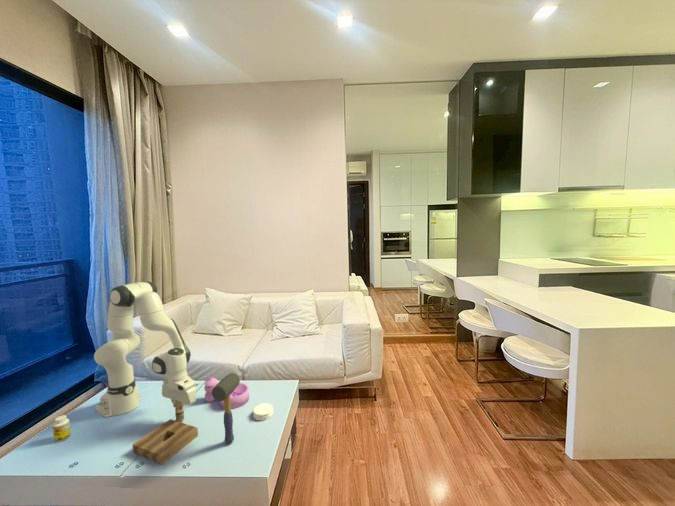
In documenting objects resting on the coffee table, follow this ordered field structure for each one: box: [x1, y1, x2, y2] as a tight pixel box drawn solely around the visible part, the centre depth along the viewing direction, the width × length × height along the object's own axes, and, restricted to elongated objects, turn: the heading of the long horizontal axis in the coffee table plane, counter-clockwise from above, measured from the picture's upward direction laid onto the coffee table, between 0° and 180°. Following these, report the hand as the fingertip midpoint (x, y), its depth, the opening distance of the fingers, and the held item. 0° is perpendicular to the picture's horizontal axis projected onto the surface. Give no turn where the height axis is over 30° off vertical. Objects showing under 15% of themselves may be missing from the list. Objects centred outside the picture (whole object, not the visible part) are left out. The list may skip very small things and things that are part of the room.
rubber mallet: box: [212, 372, 241, 445], centre depth 131 cm, size 12×8×30 cm, turn 170°
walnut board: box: [132, 418, 199, 465], centre depth 132 cm, size 18×18×4 cm
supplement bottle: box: [52, 414, 72, 443], centre depth 137 cm, size 6×6×10 cm
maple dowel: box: [174, 400, 185, 422], centre depth 147 cm, size 4×4×12 cm
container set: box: [204, 376, 250, 410], centre depth 164 cm, size 25×15×13 cm, turn 82°
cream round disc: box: [252, 402, 274, 422], centre depth 151 cm, size 10×10×4 cm
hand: (179, 407), depth 147 cm, fingers closed on maple dowel, 4 cm apart
